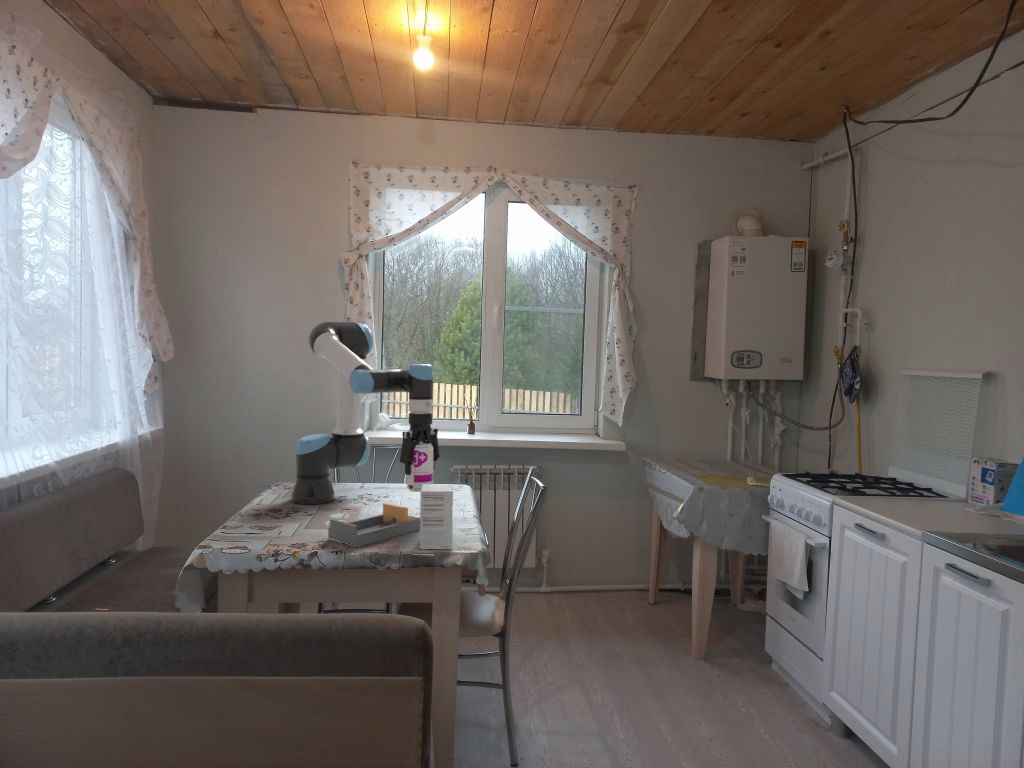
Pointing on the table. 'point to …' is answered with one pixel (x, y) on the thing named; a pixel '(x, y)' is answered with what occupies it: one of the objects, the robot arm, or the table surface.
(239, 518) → the table surface
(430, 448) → the supplement can
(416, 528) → the pusher lane
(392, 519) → the pusher
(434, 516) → the supplement box
